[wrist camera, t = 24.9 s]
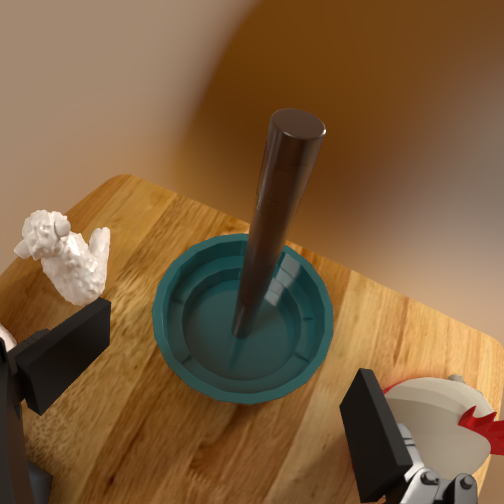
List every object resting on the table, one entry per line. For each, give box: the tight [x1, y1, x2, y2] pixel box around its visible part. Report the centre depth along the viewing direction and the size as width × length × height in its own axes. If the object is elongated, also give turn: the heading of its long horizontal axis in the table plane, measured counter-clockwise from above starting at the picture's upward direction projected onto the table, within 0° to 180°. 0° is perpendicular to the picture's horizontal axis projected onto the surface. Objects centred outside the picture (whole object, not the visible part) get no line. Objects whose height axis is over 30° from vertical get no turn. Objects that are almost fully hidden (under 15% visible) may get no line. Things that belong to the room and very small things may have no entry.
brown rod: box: [231, 109, 326, 339], centre depth 18 cm, size 2×2×22 cm
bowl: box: [152, 233, 333, 406], centre depth 25 cm, size 15×15×6 cm
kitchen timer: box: [352, 374, 504, 498], centre depth 16 cm, size 14×14×15 cm
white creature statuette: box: [14, 210, 110, 306], centre depth 24 cm, size 10×9×12 cm
